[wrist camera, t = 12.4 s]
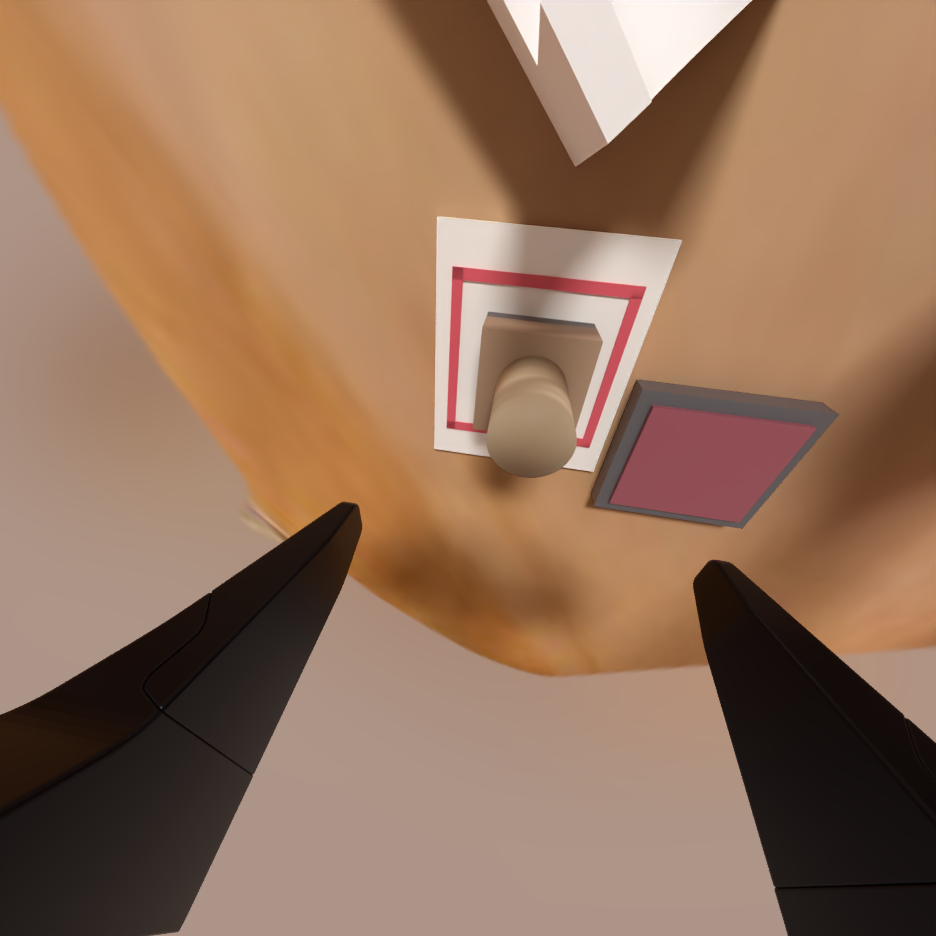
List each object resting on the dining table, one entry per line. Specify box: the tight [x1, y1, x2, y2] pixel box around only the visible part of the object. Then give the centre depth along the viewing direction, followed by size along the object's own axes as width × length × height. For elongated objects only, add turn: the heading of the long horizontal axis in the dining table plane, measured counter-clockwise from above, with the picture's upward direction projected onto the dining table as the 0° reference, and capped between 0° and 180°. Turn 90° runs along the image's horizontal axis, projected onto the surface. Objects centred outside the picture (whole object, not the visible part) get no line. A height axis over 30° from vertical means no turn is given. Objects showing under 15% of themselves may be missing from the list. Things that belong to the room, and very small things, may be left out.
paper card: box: [434, 216, 682, 472], centre depth 18 cm, size 10×12×1 cm
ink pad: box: [591, 380, 839, 529], centre depth 19 cm, size 9×8×2 cm
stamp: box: [473, 312, 603, 478], centre depth 15 cm, size 5×5×7 cm
